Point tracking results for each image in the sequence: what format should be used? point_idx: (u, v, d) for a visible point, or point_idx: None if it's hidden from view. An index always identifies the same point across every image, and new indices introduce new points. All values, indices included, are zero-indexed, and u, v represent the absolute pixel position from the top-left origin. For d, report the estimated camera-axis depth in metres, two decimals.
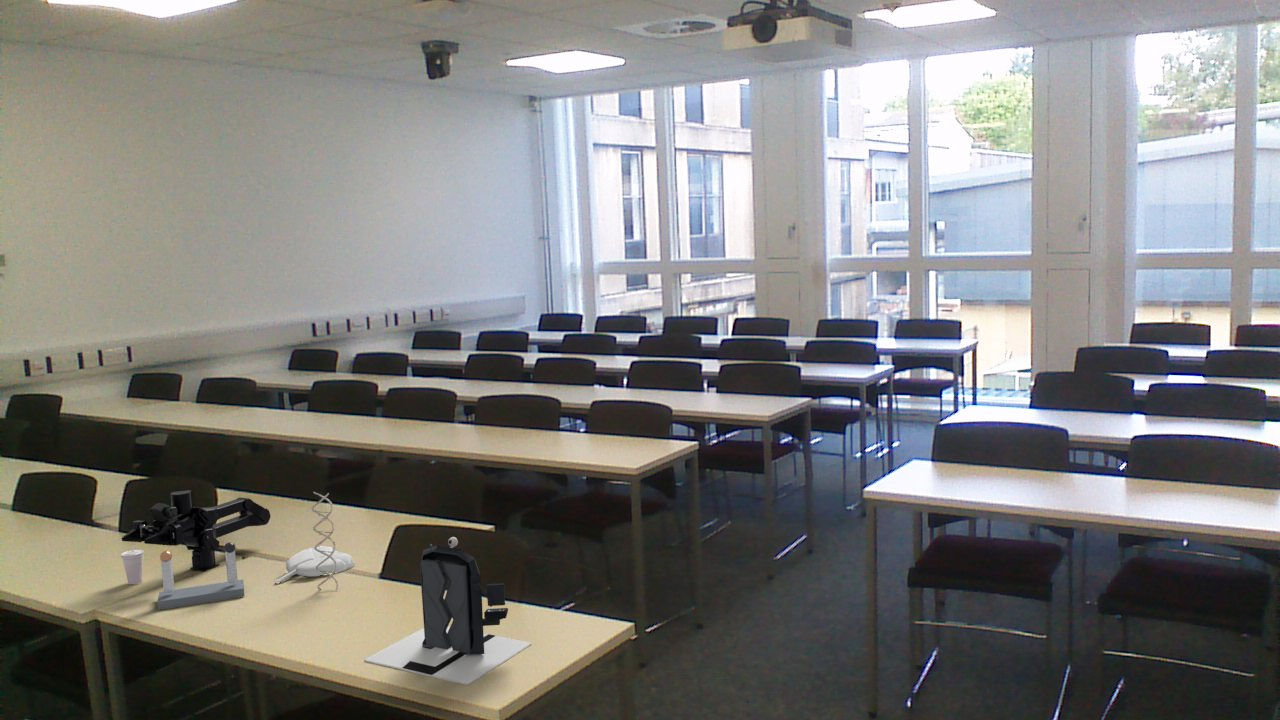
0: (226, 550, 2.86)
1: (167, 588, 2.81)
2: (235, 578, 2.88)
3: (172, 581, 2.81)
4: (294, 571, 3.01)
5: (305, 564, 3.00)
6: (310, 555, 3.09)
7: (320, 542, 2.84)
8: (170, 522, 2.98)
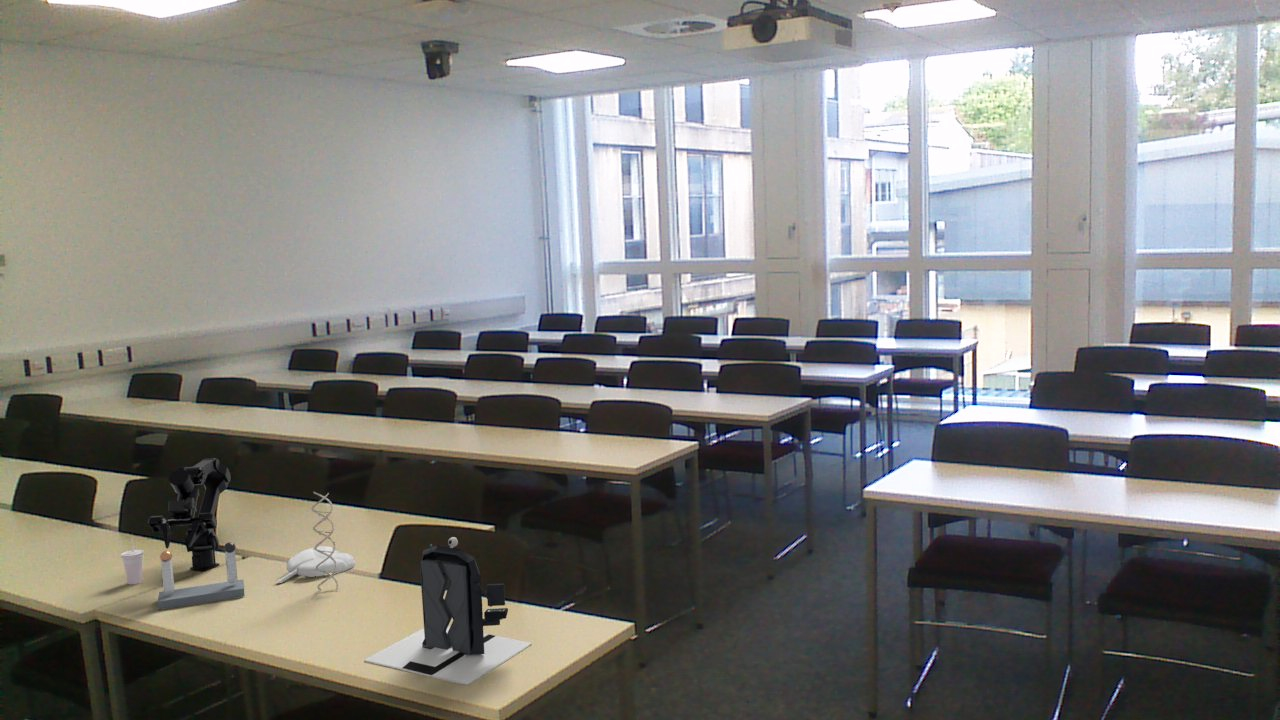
0: (226, 550, 2.86)
1: (167, 588, 2.81)
2: (235, 578, 2.88)
3: (172, 581, 2.81)
4: (295, 571, 3.00)
5: (306, 564, 3.00)
6: (311, 555, 3.08)
7: (320, 542, 2.84)
8: (191, 509, 2.96)
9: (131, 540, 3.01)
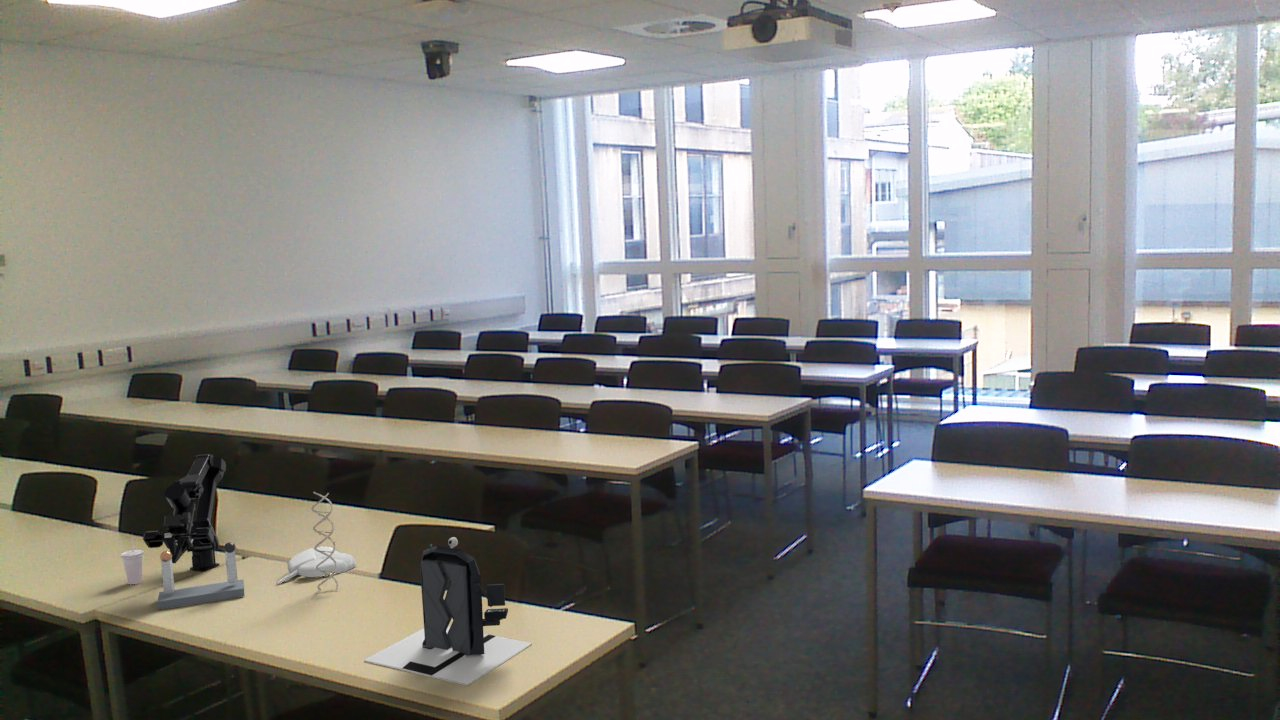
0: (226, 550, 2.86)
1: (167, 588, 2.81)
2: (235, 578, 2.88)
3: (172, 581, 2.81)
4: (295, 572, 3.00)
5: (306, 565, 3.00)
6: (311, 556, 3.08)
7: (320, 542, 2.84)
8: (187, 524, 2.92)
9: (131, 540, 3.01)
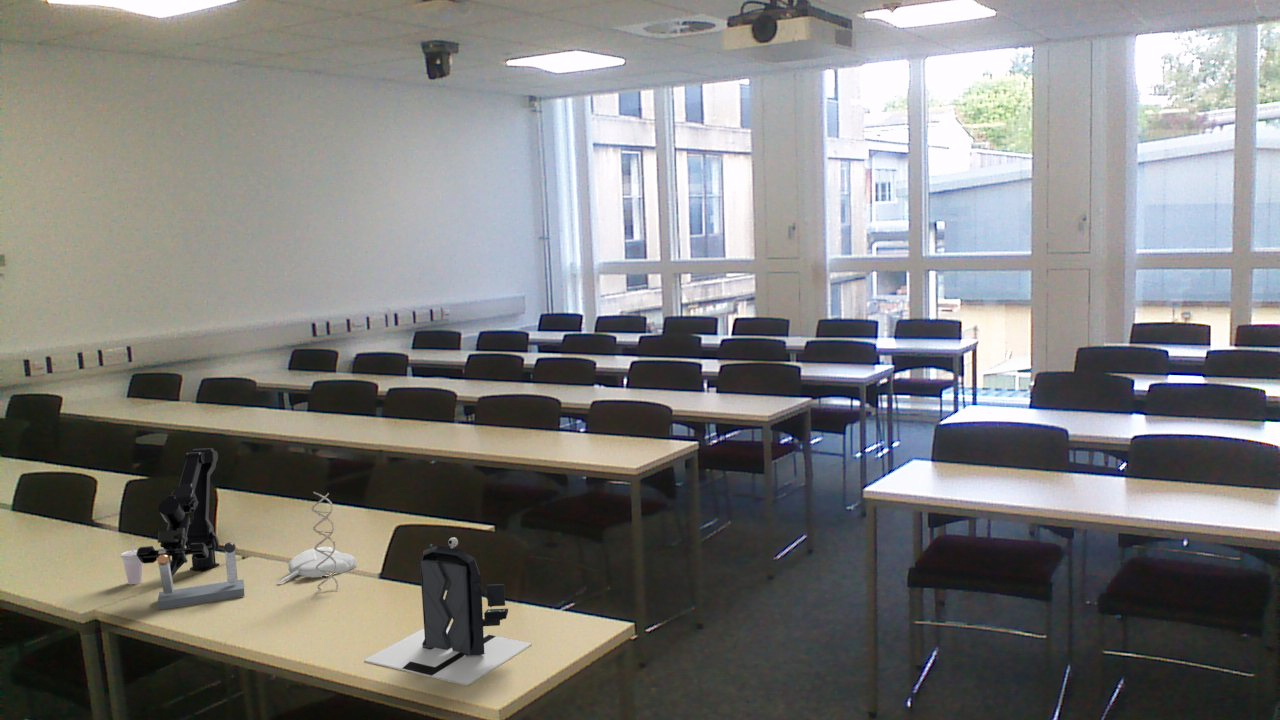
0: (226, 550, 2.86)
1: (166, 589, 2.80)
2: (235, 578, 2.88)
3: (171, 582, 2.81)
4: (296, 572, 3.00)
5: (307, 565, 3.00)
6: (312, 556, 3.08)
7: (320, 542, 2.84)
8: (182, 539, 2.86)
9: (131, 540, 3.01)
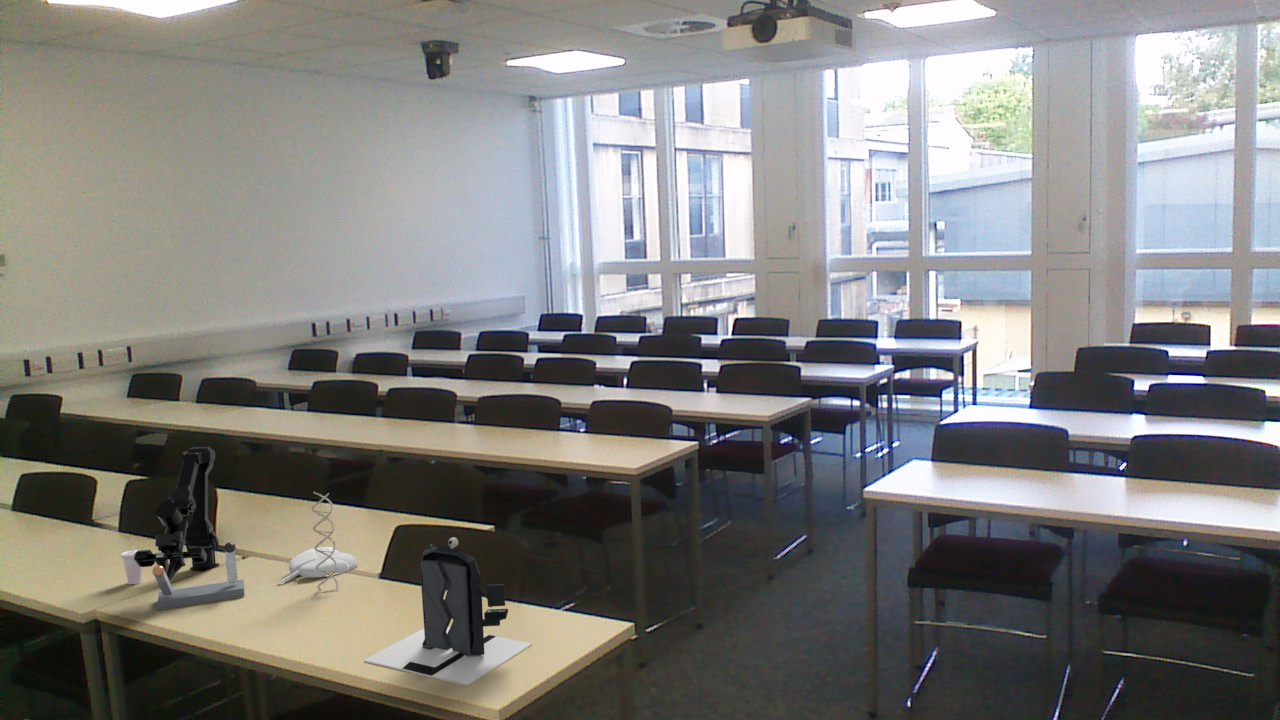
0: (226, 550, 2.86)
1: (165, 592, 2.80)
2: (235, 578, 2.88)
3: (170, 586, 2.79)
4: (297, 572, 3.00)
5: (308, 565, 3.00)
6: (313, 556, 3.08)
7: (320, 542, 2.84)
8: (180, 543, 2.84)
9: (131, 540, 3.01)
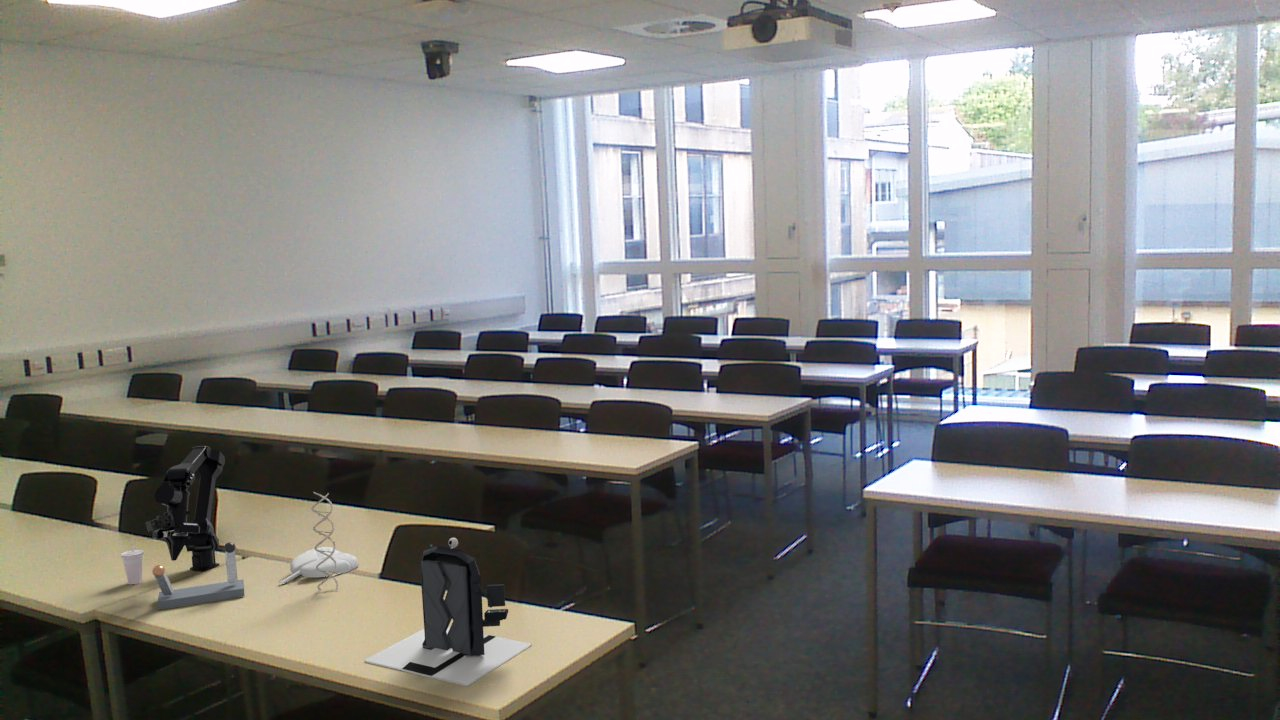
0: (226, 550, 2.86)
1: (165, 592, 2.80)
2: (235, 578, 2.88)
3: (170, 586, 2.79)
4: (298, 572, 2.99)
5: (309, 565, 2.99)
6: (314, 556, 3.08)
7: (320, 542, 2.84)
8: (172, 521, 2.90)
9: (131, 540, 3.01)
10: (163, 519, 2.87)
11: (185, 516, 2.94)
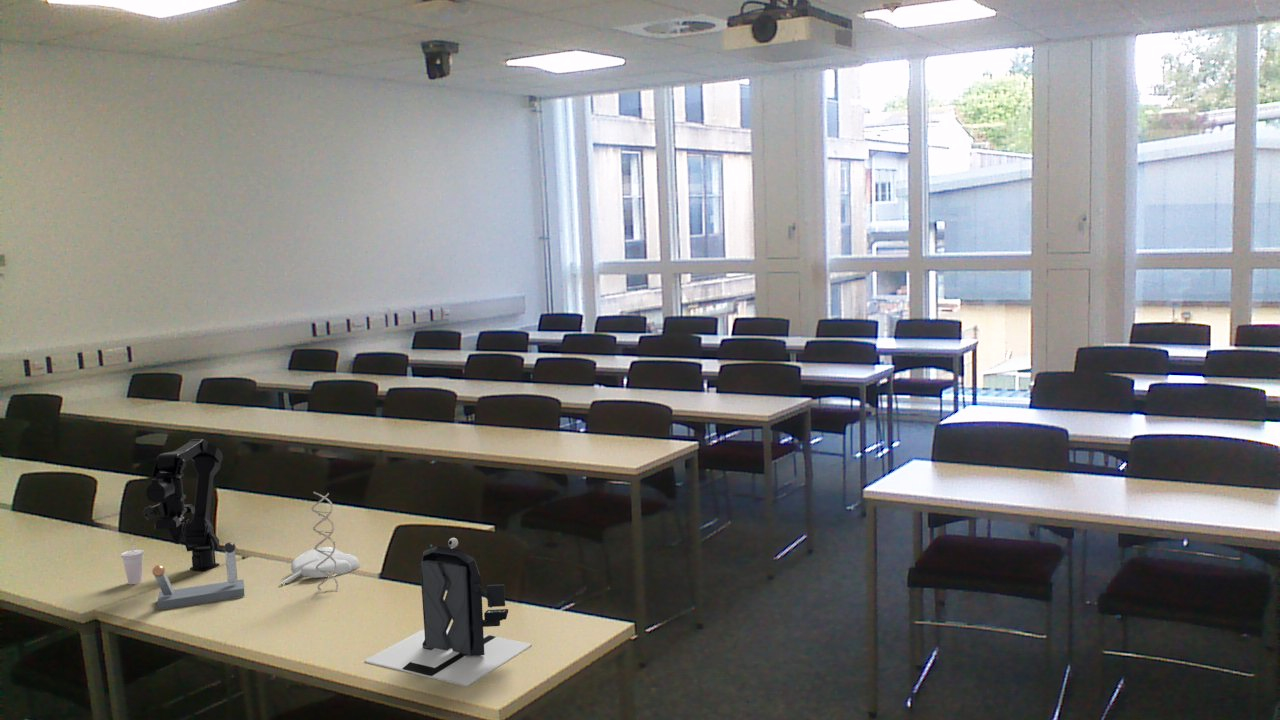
0: (226, 550, 2.86)
1: (165, 592, 2.80)
2: (235, 578, 2.88)
3: (170, 586, 2.79)
4: (299, 572, 2.99)
5: (310, 565, 2.99)
6: (315, 556, 3.07)
7: (320, 542, 2.84)
8: (161, 511, 2.93)
9: (131, 540, 3.01)
10: (148, 512, 2.91)
11: (176, 504, 2.93)
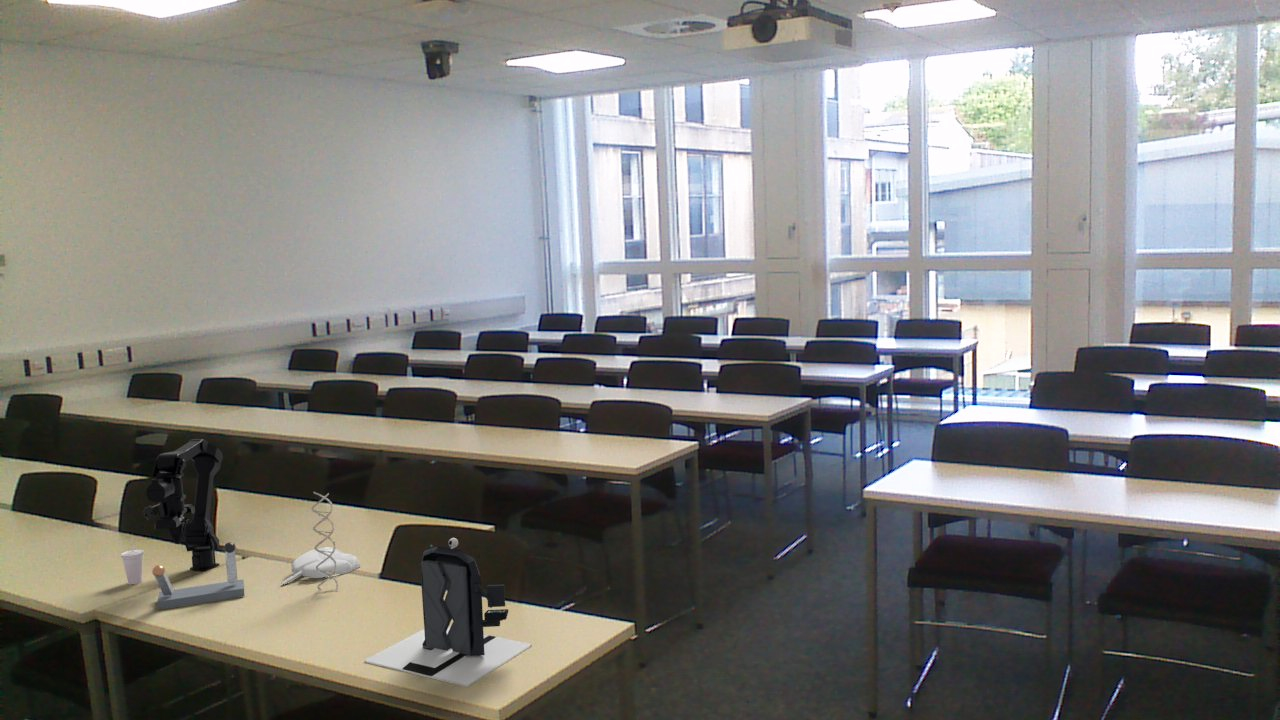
0: (226, 550, 2.86)
1: (165, 592, 2.80)
2: (235, 578, 2.88)
3: (170, 586, 2.79)
4: (300, 573, 2.99)
5: (311, 566, 2.99)
6: (315, 556, 3.07)
7: (320, 542, 2.84)
8: (161, 511, 2.93)
9: (131, 540, 3.01)
10: (148, 512, 2.91)
11: (176, 504, 2.93)
